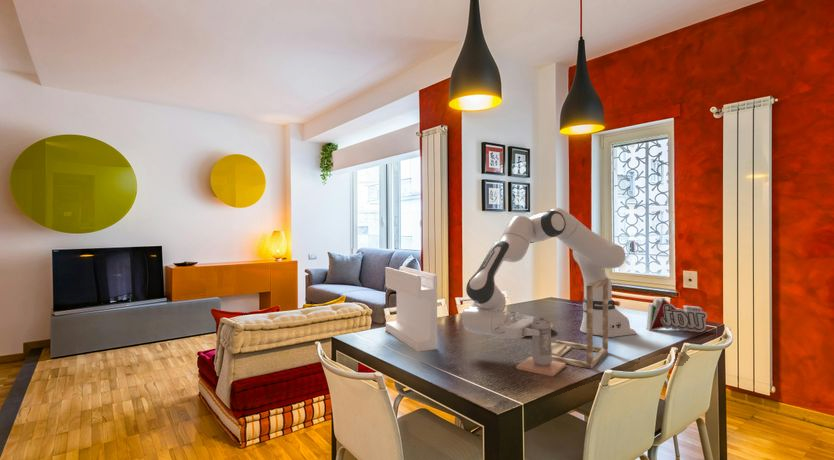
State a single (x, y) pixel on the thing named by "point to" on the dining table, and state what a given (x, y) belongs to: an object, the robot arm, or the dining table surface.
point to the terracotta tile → (541, 367)
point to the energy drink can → (542, 342)
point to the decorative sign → (675, 317)
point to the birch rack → (590, 331)
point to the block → (414, 307)
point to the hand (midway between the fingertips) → (544, 330)
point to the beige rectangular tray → (559, 349)
